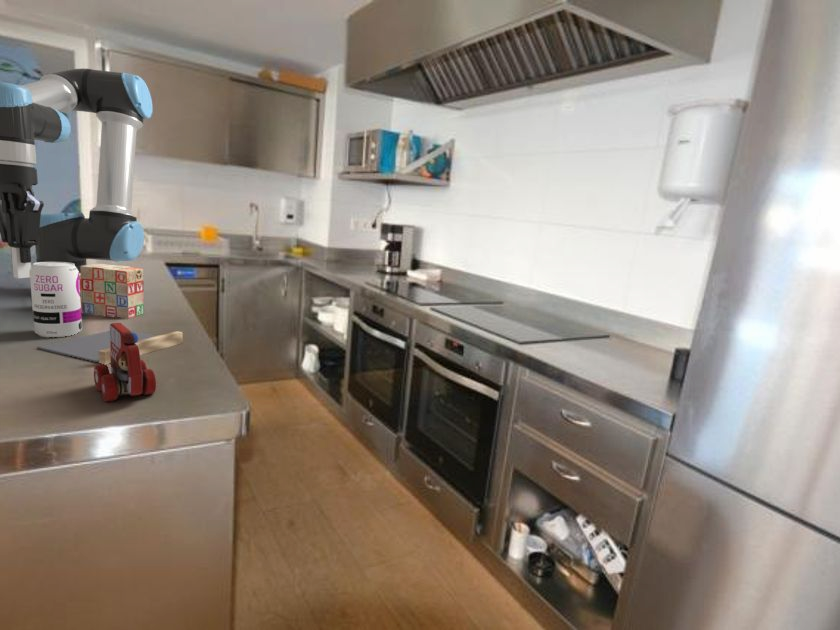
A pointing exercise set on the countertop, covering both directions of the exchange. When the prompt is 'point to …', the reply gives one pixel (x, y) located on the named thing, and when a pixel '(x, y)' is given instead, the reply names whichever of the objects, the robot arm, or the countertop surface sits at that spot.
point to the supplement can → (55, 299)
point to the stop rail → (147, 345)
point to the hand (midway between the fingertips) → (22, 277)
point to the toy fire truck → (124, 367)
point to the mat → (86, 345)
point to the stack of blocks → (111, 290)
